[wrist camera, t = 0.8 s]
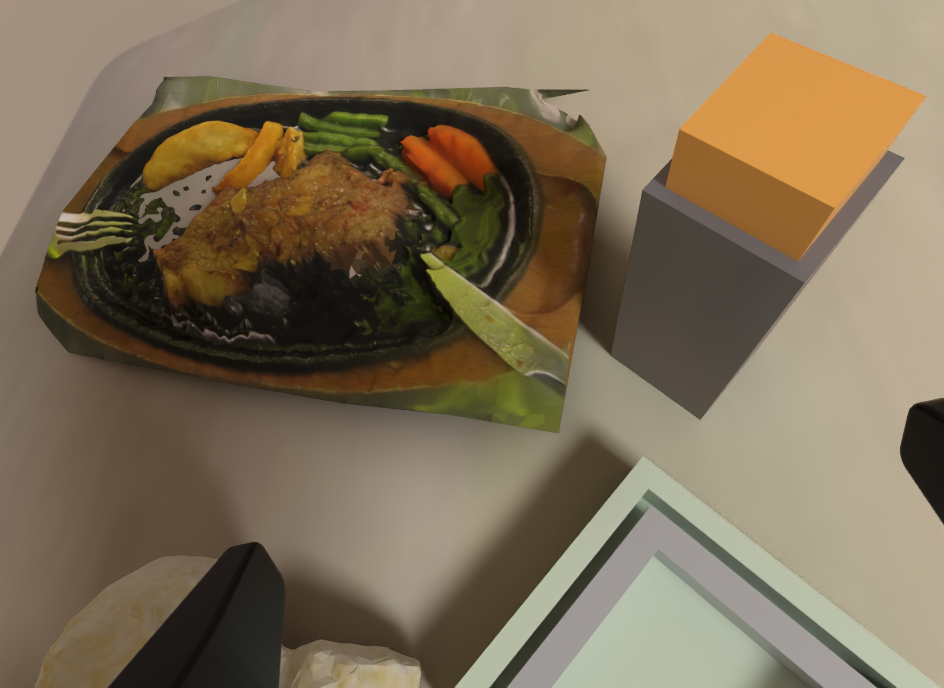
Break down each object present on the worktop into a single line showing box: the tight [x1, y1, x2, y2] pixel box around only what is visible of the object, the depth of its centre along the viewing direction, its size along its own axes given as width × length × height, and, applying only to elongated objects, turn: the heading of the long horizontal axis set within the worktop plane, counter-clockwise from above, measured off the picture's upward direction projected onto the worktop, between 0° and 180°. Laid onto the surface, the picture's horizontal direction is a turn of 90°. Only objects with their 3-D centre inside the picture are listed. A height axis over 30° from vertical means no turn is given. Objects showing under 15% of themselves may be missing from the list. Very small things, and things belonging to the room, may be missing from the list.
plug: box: [611, 33, 927, 420], centre depth 18 cm, size 4×4×13 cm
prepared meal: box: [35, 76, 606, 433], centre depth 29 cm, size 28×4×18 cm
